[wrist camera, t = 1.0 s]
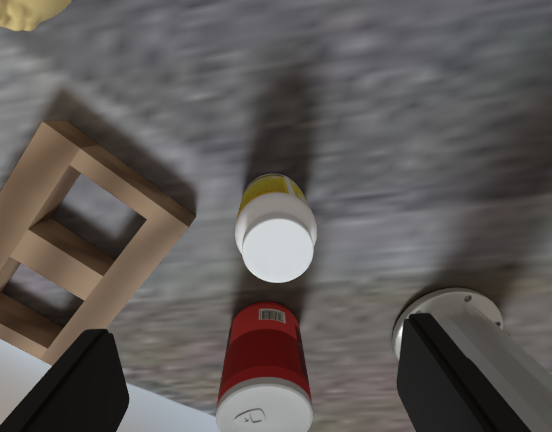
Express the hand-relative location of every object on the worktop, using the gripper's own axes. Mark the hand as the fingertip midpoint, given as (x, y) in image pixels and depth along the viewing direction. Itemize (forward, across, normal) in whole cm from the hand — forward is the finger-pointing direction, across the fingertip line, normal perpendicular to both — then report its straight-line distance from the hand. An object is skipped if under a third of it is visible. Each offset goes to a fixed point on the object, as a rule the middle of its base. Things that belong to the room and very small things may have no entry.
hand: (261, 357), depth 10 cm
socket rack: (+20, +20, +5) cm, 29 cm away
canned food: (+21, +1, +16) cm, 26 cm away
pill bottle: (+21, -1, +1) cm, 21 cm away
